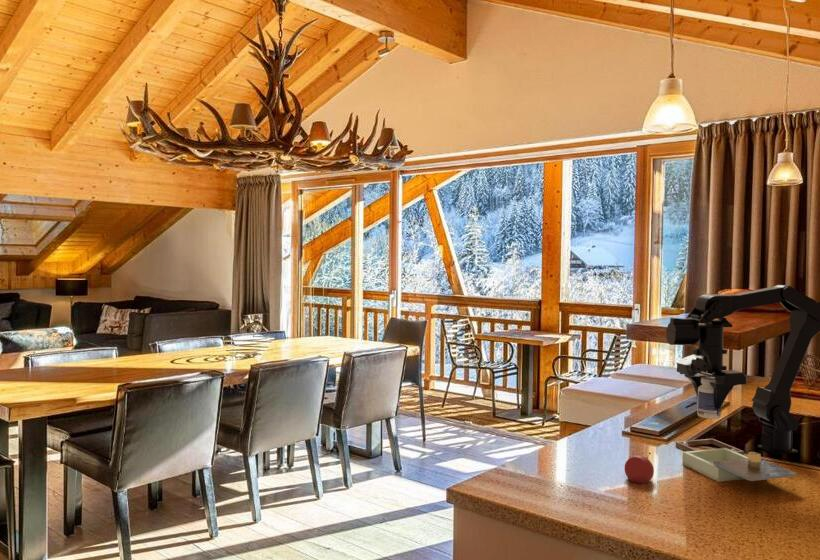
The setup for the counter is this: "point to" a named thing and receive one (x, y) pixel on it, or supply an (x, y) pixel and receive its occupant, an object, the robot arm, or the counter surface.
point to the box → (705, 466)
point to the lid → (754, 468)
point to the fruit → (639, 469)
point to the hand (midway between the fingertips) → (709, 406)
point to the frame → (703, 442)
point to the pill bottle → (707, 400)
